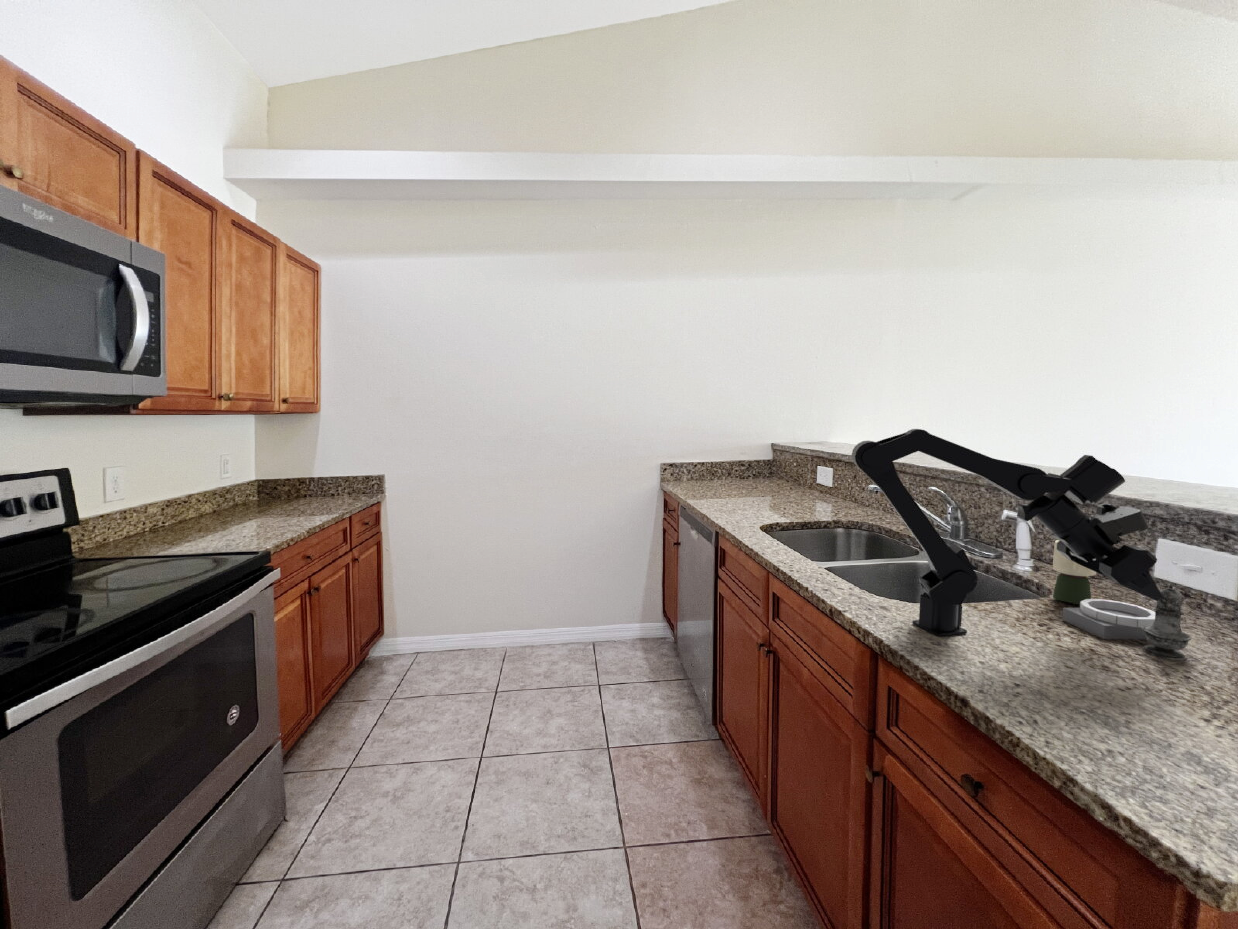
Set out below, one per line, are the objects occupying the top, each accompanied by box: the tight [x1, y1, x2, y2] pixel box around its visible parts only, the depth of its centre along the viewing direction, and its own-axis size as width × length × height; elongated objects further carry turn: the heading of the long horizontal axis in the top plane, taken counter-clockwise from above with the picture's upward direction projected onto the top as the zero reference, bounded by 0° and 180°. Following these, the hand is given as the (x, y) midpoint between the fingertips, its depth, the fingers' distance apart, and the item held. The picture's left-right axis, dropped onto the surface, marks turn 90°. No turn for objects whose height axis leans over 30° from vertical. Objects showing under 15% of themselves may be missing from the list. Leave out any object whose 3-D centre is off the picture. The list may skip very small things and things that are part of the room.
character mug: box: [1052, 539, 1097, 606], centre depth 114 cm, size 11×7×13 cm, turn 145°
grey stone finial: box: [1141, 583, 1192, 661], centre depth 90 cm, size 6×6×12 cm
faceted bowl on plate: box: [1061, 598, 1156, 640], centre depth 100 cm, size 13×10×4 cm
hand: (1141, 590), depth 90 cm, fingers open, 9 cm apart
